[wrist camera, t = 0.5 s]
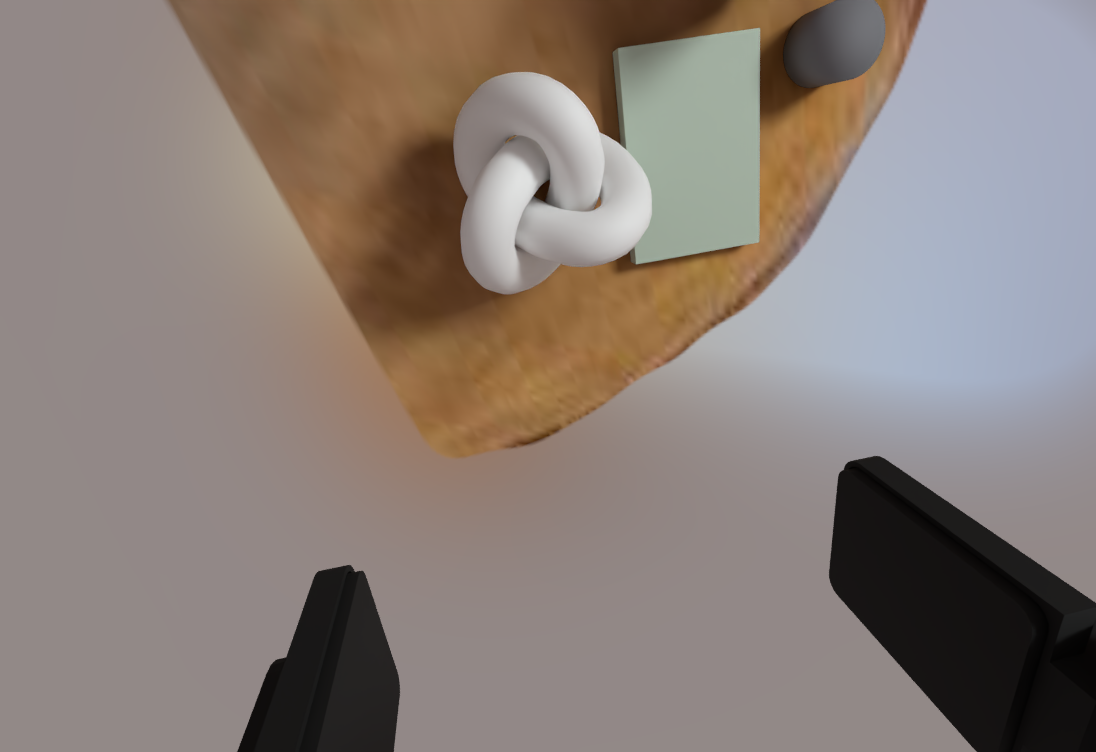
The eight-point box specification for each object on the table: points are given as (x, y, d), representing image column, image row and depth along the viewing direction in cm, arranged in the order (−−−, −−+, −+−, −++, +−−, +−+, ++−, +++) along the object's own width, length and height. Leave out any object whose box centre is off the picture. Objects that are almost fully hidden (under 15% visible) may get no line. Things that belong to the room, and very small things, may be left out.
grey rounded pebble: (783, 15, 34) (818, -1, 31) (848, 5, 34) (888, -11, 31) (782, 92, 36) (814, 85, 32) (843, 83, 36) (881, 74, 33)
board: (612, 52, 33) (617, 48, 32) (750, 32, 34) (760, 27, 33) (630, 261, 38) (636, 264, 37) (750, 240, 39) (759, 242, 38)
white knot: (396, 150, 33) (376, 145, 25) (559, 39, 32) (594, -5, 24) (496, 300, 38) (508, 338, 29) (643, 205, 37) (696, 216, 29)
